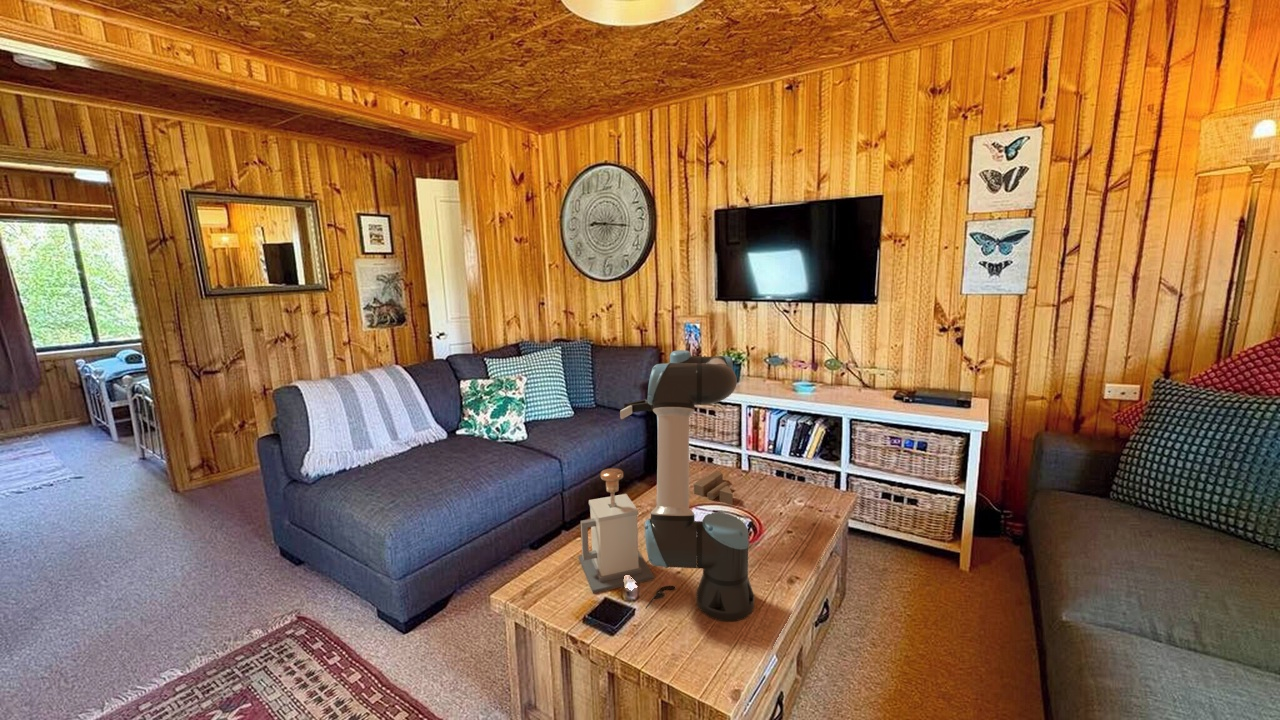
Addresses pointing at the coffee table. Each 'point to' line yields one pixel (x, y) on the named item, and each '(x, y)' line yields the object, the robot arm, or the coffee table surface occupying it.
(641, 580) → the mat
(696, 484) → the wooden block set
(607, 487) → the plunger
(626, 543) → the press
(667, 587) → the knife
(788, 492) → the coffee table surface
